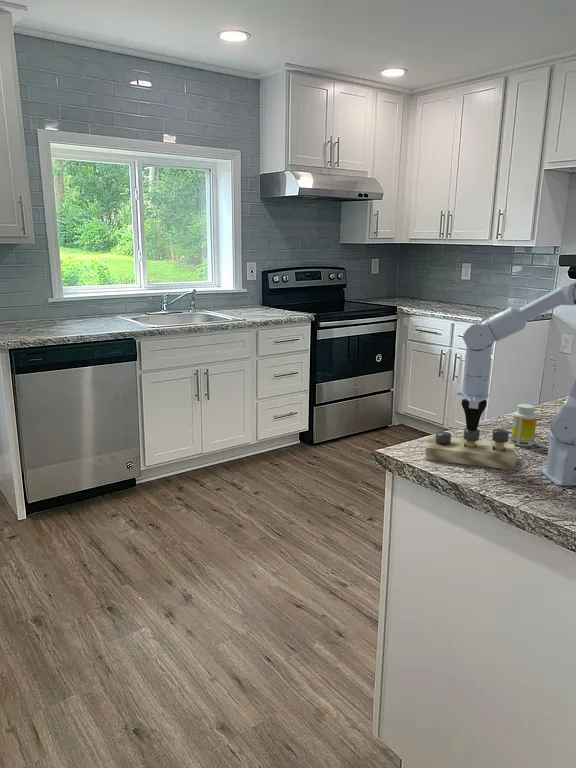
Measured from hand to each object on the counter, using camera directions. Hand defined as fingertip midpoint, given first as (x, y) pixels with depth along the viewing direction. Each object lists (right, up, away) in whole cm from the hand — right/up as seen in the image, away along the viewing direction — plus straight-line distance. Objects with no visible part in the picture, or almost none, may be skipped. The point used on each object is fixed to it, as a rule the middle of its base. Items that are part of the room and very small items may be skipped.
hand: (471, 430), depth 138 cm
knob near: (+6, -5, -1) cm, 8 cm away
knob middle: (0, -5, +1) cm, 5 cm away
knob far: (-6, -6, +4) cm, 9 cm away
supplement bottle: (+17, -5, +12) cm, 21 cm away
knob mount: (0, -7, +2) cm, 7 cm away
